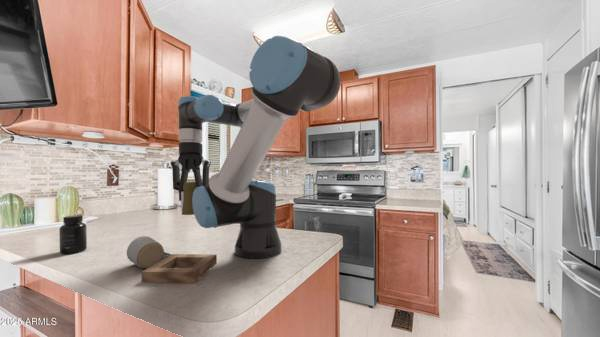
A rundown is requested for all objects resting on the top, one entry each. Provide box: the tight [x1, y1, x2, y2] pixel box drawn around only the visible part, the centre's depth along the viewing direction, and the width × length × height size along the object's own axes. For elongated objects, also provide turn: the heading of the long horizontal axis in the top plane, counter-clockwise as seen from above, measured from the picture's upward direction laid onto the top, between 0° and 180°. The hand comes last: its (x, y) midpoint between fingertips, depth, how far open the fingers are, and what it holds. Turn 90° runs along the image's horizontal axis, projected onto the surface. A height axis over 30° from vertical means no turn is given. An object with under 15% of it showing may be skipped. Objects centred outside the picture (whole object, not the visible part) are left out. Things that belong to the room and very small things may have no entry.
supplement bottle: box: [59, 214, 88, 255], centre depth 85 cm, size 7×7×12 cm
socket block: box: [141, 253, 218, 284], centre depth 66 cm, size 13×13×2 cm
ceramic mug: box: [126, 235, 172, 269], centre depth 72 cm, size 11×8×8 cm
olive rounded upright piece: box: [181, 181, 197, 216], centre depth 87 cm, size 6×6×11 cm
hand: (191, 210), depth 86 cm, fingers closed on olive rounded upright piece, 4 cm apart
